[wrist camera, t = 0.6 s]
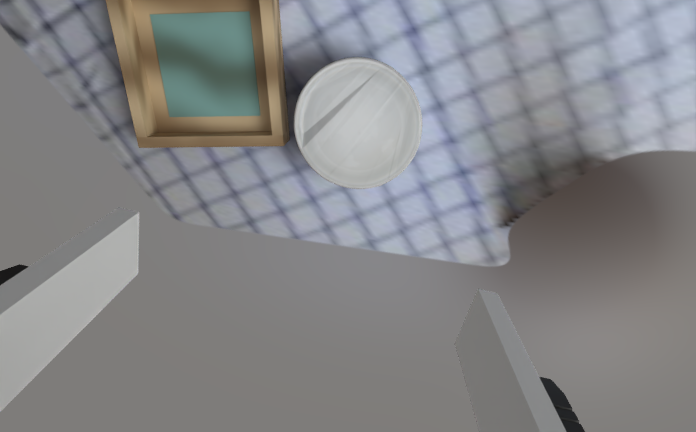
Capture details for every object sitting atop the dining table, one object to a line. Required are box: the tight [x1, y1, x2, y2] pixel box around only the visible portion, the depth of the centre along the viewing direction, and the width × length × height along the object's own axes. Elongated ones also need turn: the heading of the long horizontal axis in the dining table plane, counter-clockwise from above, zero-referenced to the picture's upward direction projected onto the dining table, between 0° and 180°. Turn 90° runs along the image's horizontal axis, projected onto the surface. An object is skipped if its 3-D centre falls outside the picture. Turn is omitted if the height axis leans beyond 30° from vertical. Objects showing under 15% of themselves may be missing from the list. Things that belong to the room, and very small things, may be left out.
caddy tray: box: [106, 0, 290, 148], centre depth 37 cm, size 14×14×3 cm
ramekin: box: [294, 57, 422, 189], centre depth 37 cm, size 11×11×5 cm
